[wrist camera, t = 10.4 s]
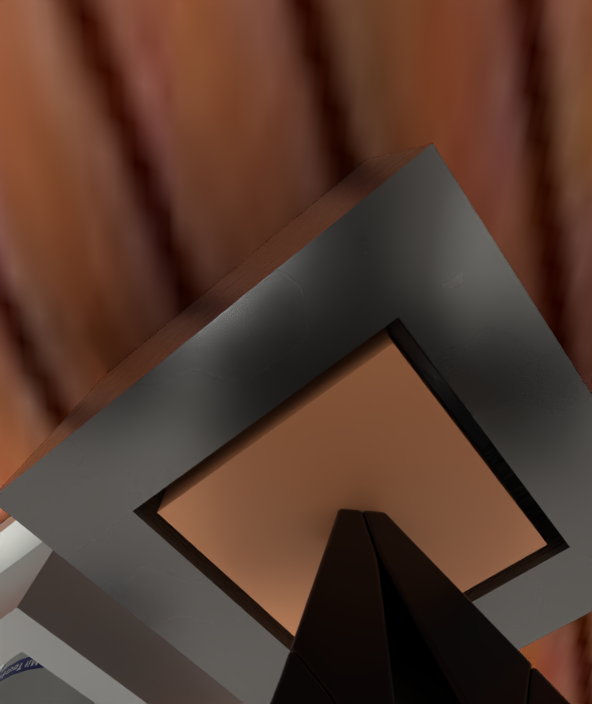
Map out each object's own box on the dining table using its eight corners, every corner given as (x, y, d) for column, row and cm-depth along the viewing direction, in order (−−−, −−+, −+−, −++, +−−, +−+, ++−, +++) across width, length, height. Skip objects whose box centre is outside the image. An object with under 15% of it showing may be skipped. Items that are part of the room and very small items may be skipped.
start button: (483, 454, 11) (547, 544, 9) (319, 557, 12) (329, 667, 10) (363, 297, 10) (393, 343, 7) (190, 427, 11) (157, 512, 8)
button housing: (544, 417, 14) (694, 556, 9) (304, 568, 16) (312, 757, 11) (367, 158, 11) (432, 143, 6) (106, 374, 13) (-10, 499, 8)
